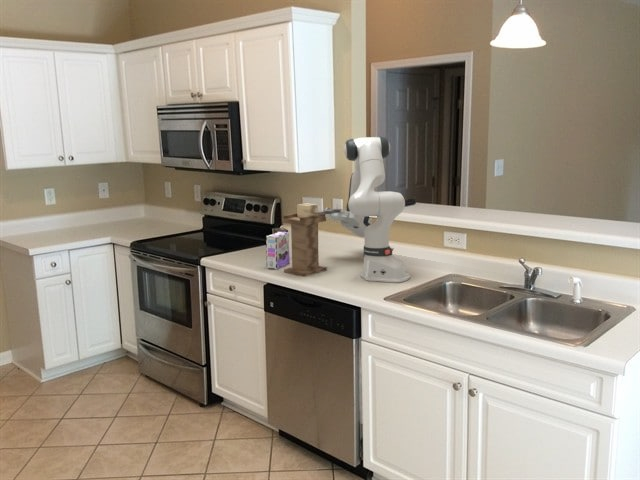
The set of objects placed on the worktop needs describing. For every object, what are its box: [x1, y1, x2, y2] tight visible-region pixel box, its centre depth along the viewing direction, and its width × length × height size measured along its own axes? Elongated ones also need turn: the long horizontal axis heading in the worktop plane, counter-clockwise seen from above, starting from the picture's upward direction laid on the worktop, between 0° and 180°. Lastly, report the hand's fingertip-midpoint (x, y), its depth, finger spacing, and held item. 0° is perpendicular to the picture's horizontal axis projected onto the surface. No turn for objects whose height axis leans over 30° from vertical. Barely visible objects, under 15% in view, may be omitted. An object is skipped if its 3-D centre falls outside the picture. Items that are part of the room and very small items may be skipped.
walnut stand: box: [282, 212, 328, 278], centre depth 281 cm, size 16×13×28 cm
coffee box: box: [271, 227, 289, 234], centre depth 309 cm, size 9×6×16 cm
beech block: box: [296, 202, 342, 217], centre depth 287 cm, size 26×8×6 cm, turn 137°
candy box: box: [265, 231, 291, 270], centre depth 293 cm, size 14×6×16 cm, turn 155°
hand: (334, 209), depth 293 cm, fingers open, 8 cm apart
